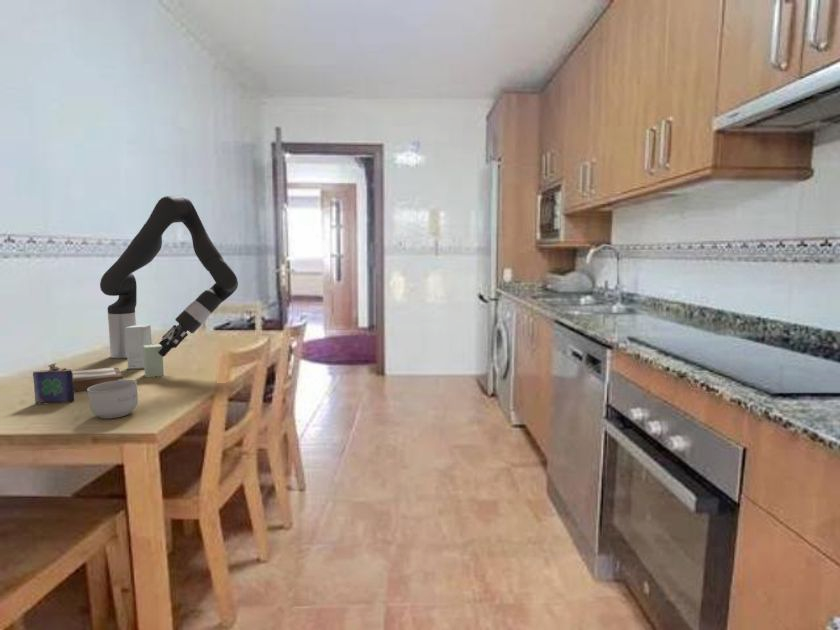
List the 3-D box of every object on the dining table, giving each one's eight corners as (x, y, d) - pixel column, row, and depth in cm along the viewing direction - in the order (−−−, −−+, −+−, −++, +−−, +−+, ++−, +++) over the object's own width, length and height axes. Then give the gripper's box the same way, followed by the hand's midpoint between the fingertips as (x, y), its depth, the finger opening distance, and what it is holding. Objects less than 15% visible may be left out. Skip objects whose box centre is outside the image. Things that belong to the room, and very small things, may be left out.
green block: (144, 374, 172) (143, 345, 171) (161, 372, 175) (159, 343, 174) (146, 377, 168) (145, 347, 167) (163, 375, 171) (162, 346, 170)
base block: (67, 382, 161) (66, 371, 161) (118, 376, 169) (117, 365, 169) (68, 392, 150) (67, 380, 150) (123, 385, 158) (122, 374, 158)
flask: (33, 404, 138) (30, 365, 137) (39, 401, 141) (36, 363, 139) (71, 403, 140) (69, 364, 139) (76, 400, 143) (74, 362, 141)
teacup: (126, 421, 125) (124, 389, 124) (79, 422, 124) (77, 390, 123) (151, 405, 139) (149, 376, 138) (109, 405, 138) (107, 376, 137)
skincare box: (144, 368, 181) (142, 327, 179) (126, 369, 180) (124, 327, 178) (153, 363, 189) (151, 323, 187) (136, 364, 188) (134, 324, 187)
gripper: (180, 307, 181) (146, 342, 176) (189, 311, 170) (152, 349, 164) (197, 321, 185) (163, 356, 180) (206, 326, 173) (171, 363, 168)
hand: (158, 352), depth 172 cm, fingers open, 8 cm apart
